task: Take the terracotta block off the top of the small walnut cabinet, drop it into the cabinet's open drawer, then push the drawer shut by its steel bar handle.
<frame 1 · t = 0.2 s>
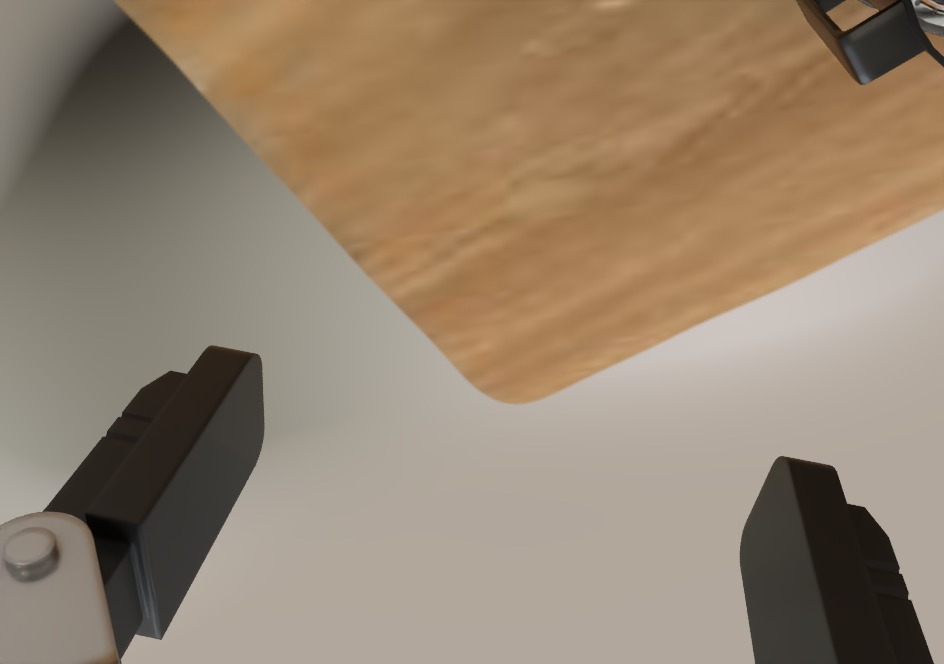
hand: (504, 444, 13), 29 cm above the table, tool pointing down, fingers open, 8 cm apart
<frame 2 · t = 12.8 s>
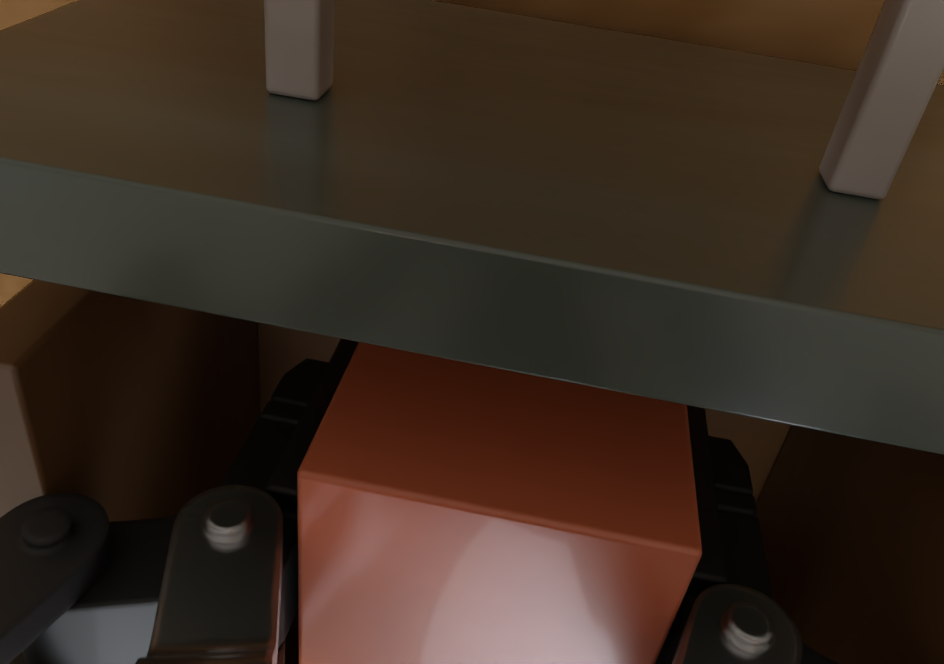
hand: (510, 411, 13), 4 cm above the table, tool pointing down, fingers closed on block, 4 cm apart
block: (512, 407, 13), point 4 cm above the table, touching gripper
drawer: (505, 449, 13), point 5 cm above the table, slide at 9.0 cm
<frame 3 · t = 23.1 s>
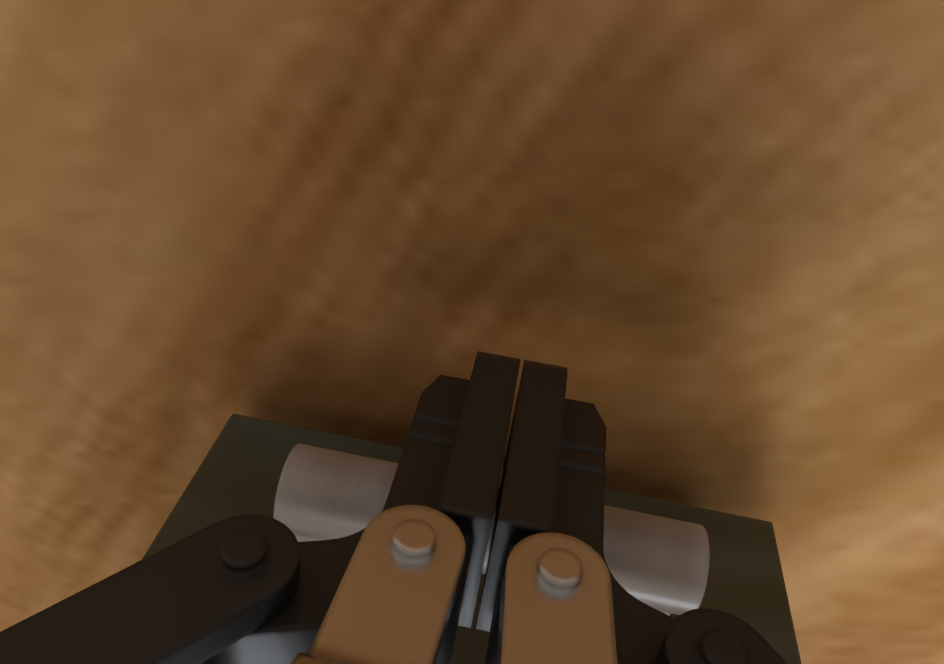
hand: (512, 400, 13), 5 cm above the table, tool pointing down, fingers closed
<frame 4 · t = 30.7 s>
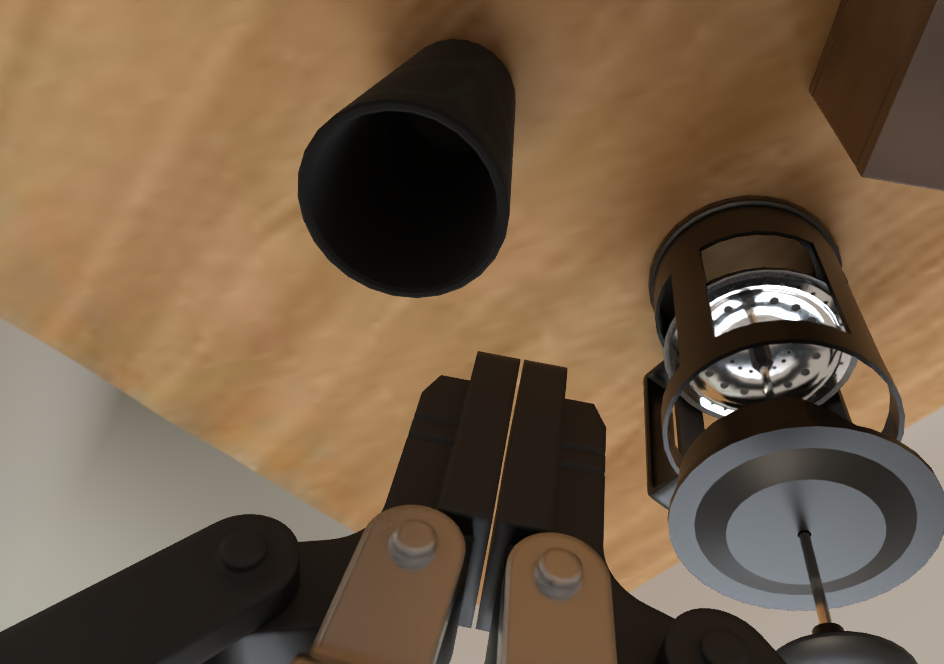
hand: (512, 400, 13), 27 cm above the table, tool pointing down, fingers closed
cup: (458, 98, 39), on the table
french press: (734, 284, 42), on the table
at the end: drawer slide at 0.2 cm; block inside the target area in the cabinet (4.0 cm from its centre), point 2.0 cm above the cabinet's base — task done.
